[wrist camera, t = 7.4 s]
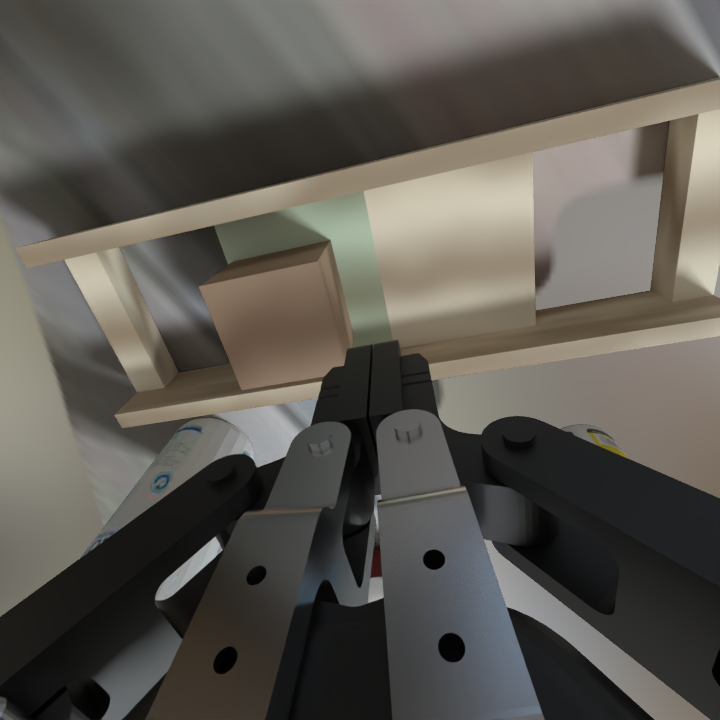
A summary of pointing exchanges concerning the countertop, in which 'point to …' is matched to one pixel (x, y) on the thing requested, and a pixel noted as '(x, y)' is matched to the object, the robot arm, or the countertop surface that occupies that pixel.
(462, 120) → the countertop surface
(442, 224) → the frame
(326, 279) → the walnut block
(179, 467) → the spray can
